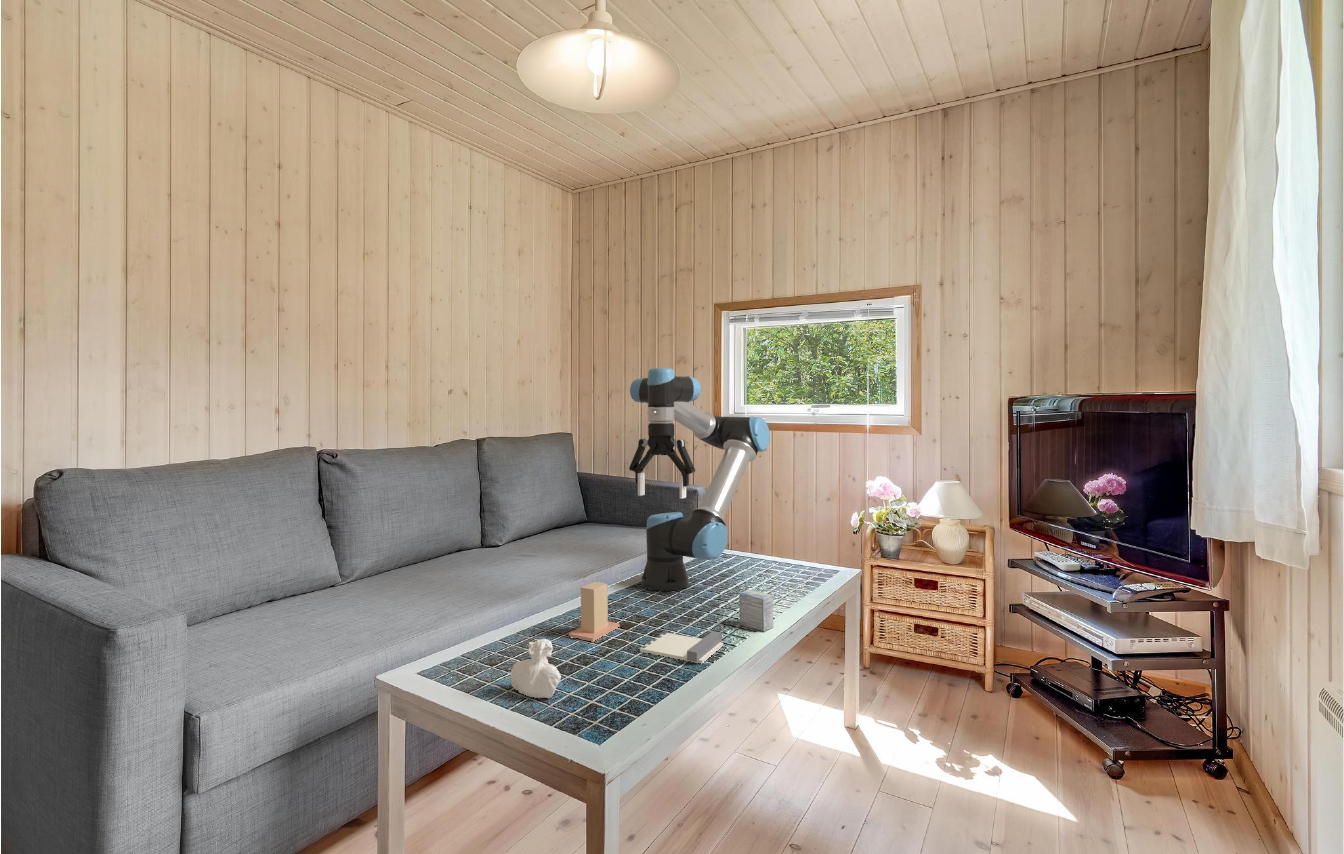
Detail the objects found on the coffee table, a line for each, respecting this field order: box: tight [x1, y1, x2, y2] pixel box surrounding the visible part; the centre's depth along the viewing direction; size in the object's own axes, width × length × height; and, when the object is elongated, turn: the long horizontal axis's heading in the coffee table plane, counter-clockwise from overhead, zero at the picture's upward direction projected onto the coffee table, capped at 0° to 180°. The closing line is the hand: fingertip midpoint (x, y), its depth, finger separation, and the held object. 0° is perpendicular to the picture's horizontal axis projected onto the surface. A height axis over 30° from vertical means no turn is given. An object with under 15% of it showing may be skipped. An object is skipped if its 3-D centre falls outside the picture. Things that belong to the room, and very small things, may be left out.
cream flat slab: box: [639, 630, 724, 665], centre depth 152 cm, size 16×14×3 cm
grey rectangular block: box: [738, 589, 774, 632], centre depth 167 cm, size 8×4×9 cm, turn 47°
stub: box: [568, 581, 621, 643], centre depth 163 cm, size 7×12×12 cm, turn 152°
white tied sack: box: [509, 638, 562, 699], centre depth 130 cm, size 12×8×11 cm
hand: (661, 496), depth 184 cm, fingers open, 13 cm apart
